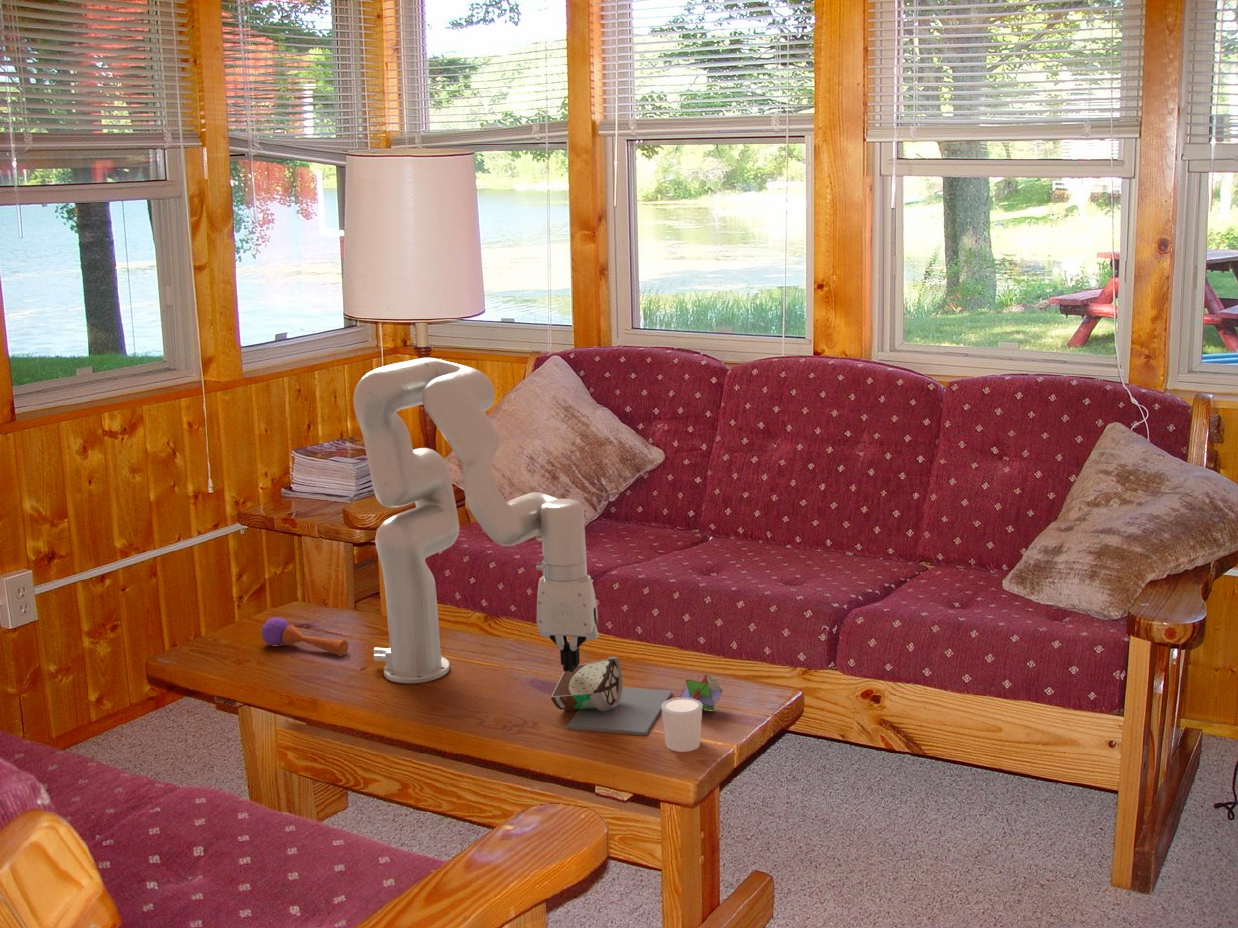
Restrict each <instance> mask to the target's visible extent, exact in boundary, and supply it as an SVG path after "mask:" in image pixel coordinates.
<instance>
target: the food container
mask: <svg viewBox="0 0 1238 928" xmlns="http://www.w3.org/2000/svg"><path fill="white" fill-rule="evenodd" d="M619 659H620V658H619V657H618V656H607V658H606V659H601V660H596V661H592V662H587V663H586V662H585V663H581V664H579V665H578V666H577V668H576V669H575V670H574V671H573V672H569V671H567V672H564V671H563V672H562V675H561V676H560V678H559V680H558V682H557V684H556V686H555V688H554V690H553V692H552V694H551V696H550V698H551V701H552V703H553V704H554V706H555V707H556V708H557V709H559V710H561V711H562V710H563V711H564V710H579V709H587V708H597V709H598V710H600V711H607V710H609V709H612V708H614V707H615V706H617V705H618V703H619V702H620V699H621V695H622V687H624V686H623V683H624V682H623V671H622V668H621V664H620V660H619Z"/></svg>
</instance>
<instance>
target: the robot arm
mask: <svg viewBox="0 0 1238 928" xmlns="http://www.w3.org/2000/svg"><path fill="white" fill-rule="evenodd" d="M495 395H496V393H495V388H494V385H493V383H492V381H491V380H490V379H489V377H488V376H487V375H486V374H485V373H484V372H482V371H481V370H479V369H476V368H474V367H470V366H467V365H463V364H459V363H455V362H450V361H446V360H443V359H438V358H435V357H420V358H416V359H415V358H414V359H410V360H407V361H406V360H405V361H400V362H395V363H392V364H391V363H390V364H387V365H384V366H380V367H377V368H375V369H373V370H371V371H369V372H367V373H366V374H365V375H363V376H362V377H361V379H360V380H358V383H357V384H356V386H355V389H354V393H353V397H352V398H353V400H352V401H353V408H354V409H353V410H354V413H355V417H356V421H357V423H358V426H359V428H360V431H361V435H362V437H363V442H364V447H365V448H364V449H365V454H366V459H367V464H368V469H369V474H370V480H371V484H372V489H373V491H374V495H375V497H376V500H377V501H378V502H379V504H380V505H382V507H386V508H398V507H403V506H407V505H410V504H412V503H415V508H411V509H407V510H405V511H403V512H400V513H396V514H395V515H394V514H393V515H392V516H390V517H388V518H387V519H386V520H384V521H383V522H382V523H381V524H380V525H379V526H378V528H377V529H376V530H377V531H376V533H375V534H376V535H375V540H374V542H375V548H376V552H377V554H378V559H379V562H380V566H381V569H382V571H381V572H382V577H383V582H384V592H385V593H384V594H385V595H384V596H385V602H386V603H385V604H386V616H387V627H388V638H389V648H385V647H377V646H376V647H374V649H373V651H372V652H373V661H376V662H384V663H385V665H384V668H383V675H384V677H385V678H386V679H387V680H388V681H391V682H395V683H398V684H421V683H427V682H432V681H434V680H437V679H439V678H443V676H446V674H448V673H449V671H450V668H451V667H450V666H451V664H450V662H449V660H448V659H447V658H445V657H444V656H442V653H441V642H440V641H441V640H440V627H439V626H440V624H439V614H438V613H439V612H438V611H439V610H438V600H437V587H436V581H435V577H434V575H433V572H432V571H431V570H430V568H429V566H428V564H427V563H426V559H427V558H428V557H431V556H432V555H435V554H438V553H440V552H442V551H445V550H447V549H448V548H450V547H451V546H453V545H454V544H455V542H456V541H457V539H458V536H459V533H460V520H459V516H458V514H459V513H458V510H457V503H456V498H455V492H454V488H453V481H452V478H451V474H450V469H449V466H448V464H447V462H446V461H445V459H444V458H443V456H442V455H441V454H440V453H438V452H437V451H436V450H434V449H431V448H429V447H419V448H415V449H413V444H412V440H411V434H410V431H409V429H408V426H407V424H406V423H405V422H404V420H403V418H402V417H401V416H400V415H399V414H398V413H397V412H399V411H401V410H404V409H405V410H406V409H409V408H414V407H417V406H421V405H422V406H424V409H425V411H426V412H427V414H428V415H429V417H430V418H431V420H432V421H433V424H434V425H435V426H436V427H437V429H438V430H439V432H440V433H441V434H442V437H444V440H446V442H447V443H448V445H449V446H450V448H451V450H452V451H453V452H454V454H455V455H456V457H457V458H458V460H459V461H460V464H461V465H462V484H463V486H462V487H463V491H464V496H465V501H466V503H467V505H468V508H469V510H470V511H471V514H472V515H473V517H474V518H475V520H476V521H477V523H478V524H479V525H480V528H481V529H482V530H483V532H484V533H485V534H486V535H487V536H488V537H489V538H490V539H491V540H492V541H493V542H495V543H496V544H498V545H500V546H503V547H512V546H515V545H518V544H520V543H523V542H526V541H527V540H530V539H532V538H536V537H539V536H541V546H542V561H540V562H539V561H537V562H536V563H535V569H536V571H541V572H542V576H541V577H539V580H538V586H537V598H536V600H537V601H536V626H537V630H538V635H539V636H540V637H542V638H545V639H548V640H549V639H550V640H551V641H552V642H553V644H555V645H556V646H557V649H558V650H559V653H560V665H561V666H562V667H563V672H567V671H569V672H573V671H574V670H575V669H576V668H577V666H578V665H580V661H581V660H580V646H582V645H583V644H584V643H585V642H590V641H596V640H597V638H599V636H600V635H599V632H598V631H599V630H598V628H597V626H598V624H599V622H598V620H599V618H598V617H599V616H598V606H597V601H596V600H597V599H596V593H595V589H594V585H593V581H592V578H591V575H589V574H588V571H587V570H588V569H587V567H588V566H587V549H586V529H585V527H586V526H585V511H584V507H583V504H582V503H581V502H580V501H579V500H577V499H573V498H557V497H555V496H551V495H549V494H546V493H543V492H539V491H538V492H537V491H536V492H529V493H526V494H523V495H521V496H518V497H515V498H513V499H510V500H508V501H507V500H505V498H504V497H503V495H502V494H501V492H500V490H499V489H498V488H497V486H496V483H495V482H494V478H493V474H492V465H493V460H494V458H495V456H496V455H497V454H498V453H499V451H500V450H501V448H502V447H503V444H504V443H503V442H504V441H503V436H502V435H501V434H500V432H499V431H498V429H497V428H496V427H495V425H494V423H493V422H492V421H491V420H490V418H489V416H488V415H487V413H486V412H487V411H488V410H489V409H490V408H491V407H492V406H493V404H494V401H495ZM569 637H570V642H569Z"/></svg>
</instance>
